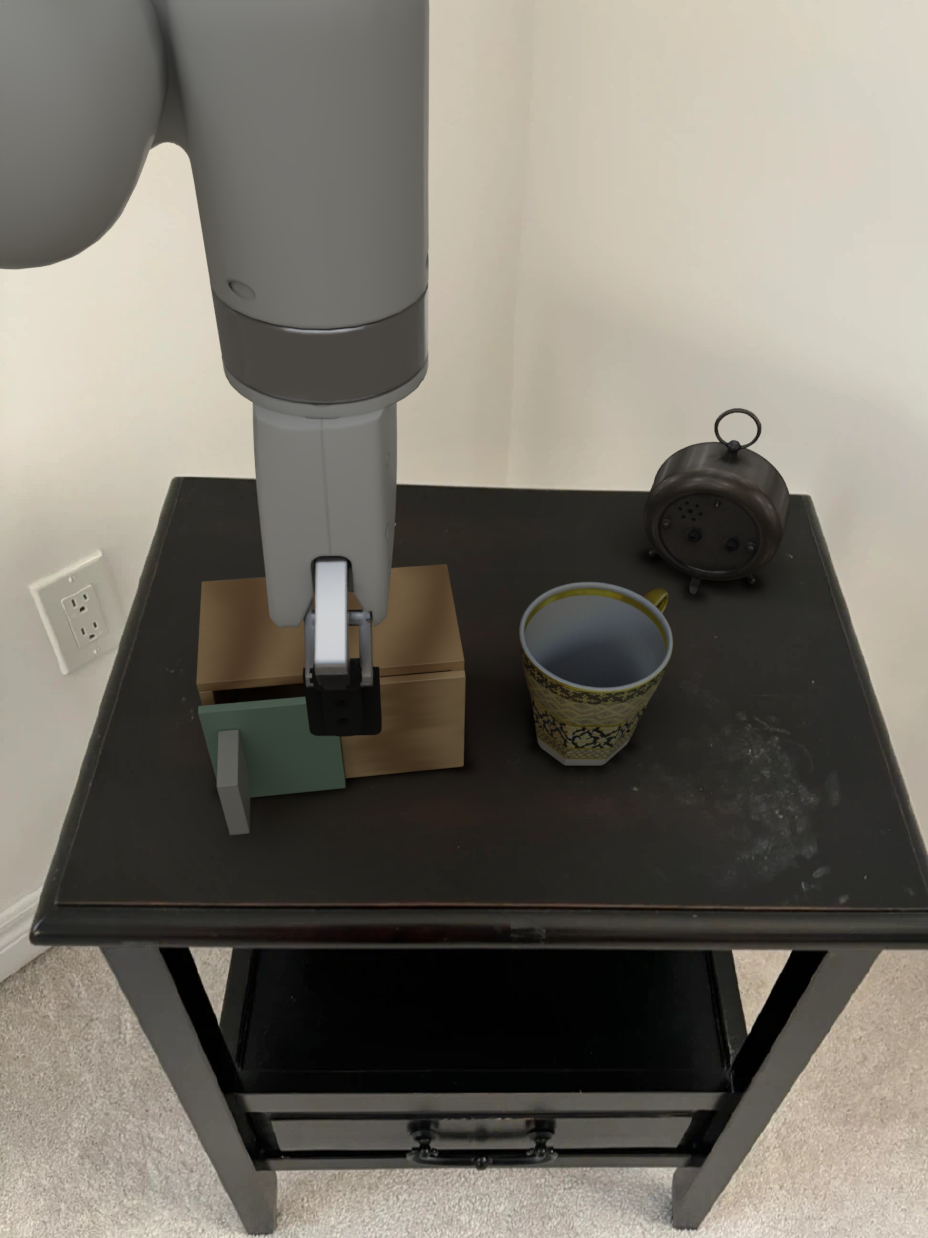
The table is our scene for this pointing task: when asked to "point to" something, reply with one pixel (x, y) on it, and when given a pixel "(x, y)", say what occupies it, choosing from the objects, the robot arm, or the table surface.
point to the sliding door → (266, 754)
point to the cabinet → (402, 649)
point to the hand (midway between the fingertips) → (349, 653)
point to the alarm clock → (717, 509)
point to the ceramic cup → (592, 666)
